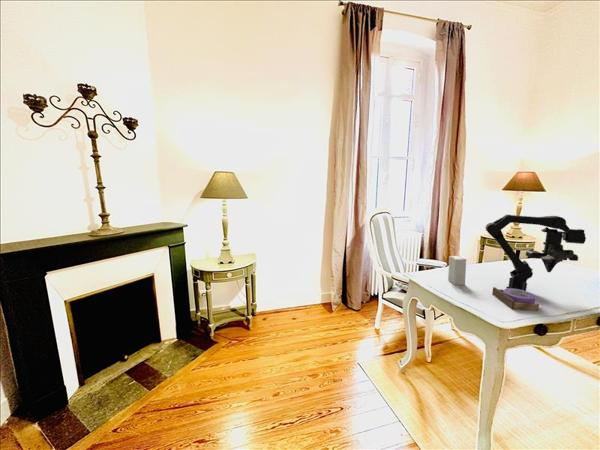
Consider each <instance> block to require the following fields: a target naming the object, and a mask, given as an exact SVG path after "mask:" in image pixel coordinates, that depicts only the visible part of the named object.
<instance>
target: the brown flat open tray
mask: <svg viewBox="0 0 600 450" xmlns="http://www.w3.org/2000/svg"><path fill="white" fill-rule="evenodd" d="M503 290H504V289H500V288H499V289H498V288H497V287H494V286H492V293H491V294H492V296H494V297H495V298H497V300H499V301H500V302H501V303H502V304H504V305H505V306H507V308H510V310H515V309H520V310H519V311H530V310H532V311H533V312H538V311H539V309H540V308H539V307H540V304H539V303H535V304H531V303H516V302H515V301H514V300H513V299H512V298H510V297H509V296H507V295H506V294H504V293H503Z"/></svg>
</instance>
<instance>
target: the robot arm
mask: <svg viewBox="0 0 600 450" xmlns="http://www.w3.org/2000/svg"><path fill="white" fill-rule="evenodd" d="M511 223H512V224H522V225H523V224H524V225H538V226H543V227H544V228H543V229H541V232H543V233H545V241H543V243H542V244H543V245H544V247H543V250H541V252H540V251H537V250H526V252H525V256H527V257H528V258H531V259H536V260H537V259H541V261H542V262H543V265H544V267H545V270H546V272H547V273H551V272H552V271H553V269H554V268H555V267H556V265H558V264H559V263H561V262H564V261H568V260H569V261H571V262H573V261H575V262H578V261H579V256H578V255H577V254H575V253H574V250H572V249H564V245H563V244H562V242H563V241H564V242H565V244H566V243H567V244H569V243H570V244H578V245H580V244H581V245H582V244H585V243H586V239H587V237H586V234H585V233H586V232H585V231H586V230H585V229H581V228H578V229H577V228H576V229H575V228H572V229H571V228H570V227H569V226H568V225H567V220H566V219H565V217H562V216H558V215H546V216H545V215H544V216H527V215H516V214H515V215H512V214H505V215H504V216H502V217H500V218H499V219H496V220H495V221H493V222H490V223H487V224H486V225H485V231H486V232H487V234H489V236H491V237H492V238H493V239H494V240H495V241H496V242H497V243H498V245H499V246H500V248H501V249H502V250H503V252H504V253H505V255H506V256H507V257H508V259H509V260H510V261H511V264H512V267H513V268H514V269H513V270H512V271H510V272H509V275H510V277H509V280H508V286H506V288H505V289H508V288H512V289H519V290H524V291H527V288H528V287H527V286H528V283H527V281H528V280H529V279H531V278H532V277H533V275H534V273H533V271H534V270H533V268H532V267H531V266H530V265H529V263H528V262H527V261H526V260H523V261H522V260H521V259H520V257H519V255H518V254H517V253H516V252H515V250H514V249H513V248H512V246H511V245H510V244H509V242H508V241H507V240H506V238H505V236H504V233H503V231H502V230H503V229H505V228H506V227H507V226H508V225H509V224H511Z"/></svg>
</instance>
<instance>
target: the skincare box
mask: <svg viewBox="0 0 600 450" xmlns="http://www.w3.org/2000/svg"><path fill="white" fill-rule="evenodd" d="M466 268H467V258H464V257H462V256H460V255H449V256H448V276H447V281H449V282H451V284H453V285H456V286H457V285H458V286H465V285H466V270H467V269H466Z"/></svg>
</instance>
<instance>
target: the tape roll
mask: <svg viewBox="0 0 600 450" xmlns="http://www.w3.org/2000/svg"><path fill="white" fill-rule="evenodd" d="M502 290H503V293H504V294H506V295H507V296H509V297H510V298H512V299H513V300H514V301H515V302H516V303H531V304H536V295H535V294H533V293H532V292H530V291H527V290H526V291H524V290H519V289H512V288H505V289H502Z"/></svg>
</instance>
